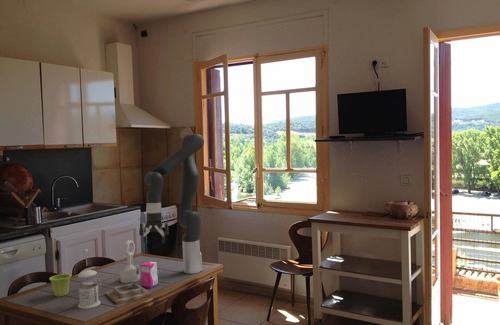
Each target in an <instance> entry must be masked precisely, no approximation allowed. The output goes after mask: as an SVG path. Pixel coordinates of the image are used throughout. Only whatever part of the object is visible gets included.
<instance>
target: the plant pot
mask: <svg viewBox="0 0 500 325" xmlns="http://www.w3.org/2000/svg"><path fill="white" fill-rule="evenodd" d="M71 277H72V274H71V273H70V274H69V273H62V274H57V275H56V274H55V275H53V276H51V277H49V281H50V283H51V285H52V286H51V287H52V290H53V295H54V296H55V297H63V296H66V295H68V294H69V289H70V279H71Z"/></svg>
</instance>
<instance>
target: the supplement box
mask: <svg viewBox="0 0 500 325" xmlns="http://www.w3.org/2000/svg"><path fill="white" fill-rule="evenodd" d="M157 266H158V264H157V262H156V261H145V262H144V263H143V262H142V263H141V264H140V278H141V287H143V288H147V289H152V288H154V287H156V286H158V285H159V278H158V268H157Z"/></svg>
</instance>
